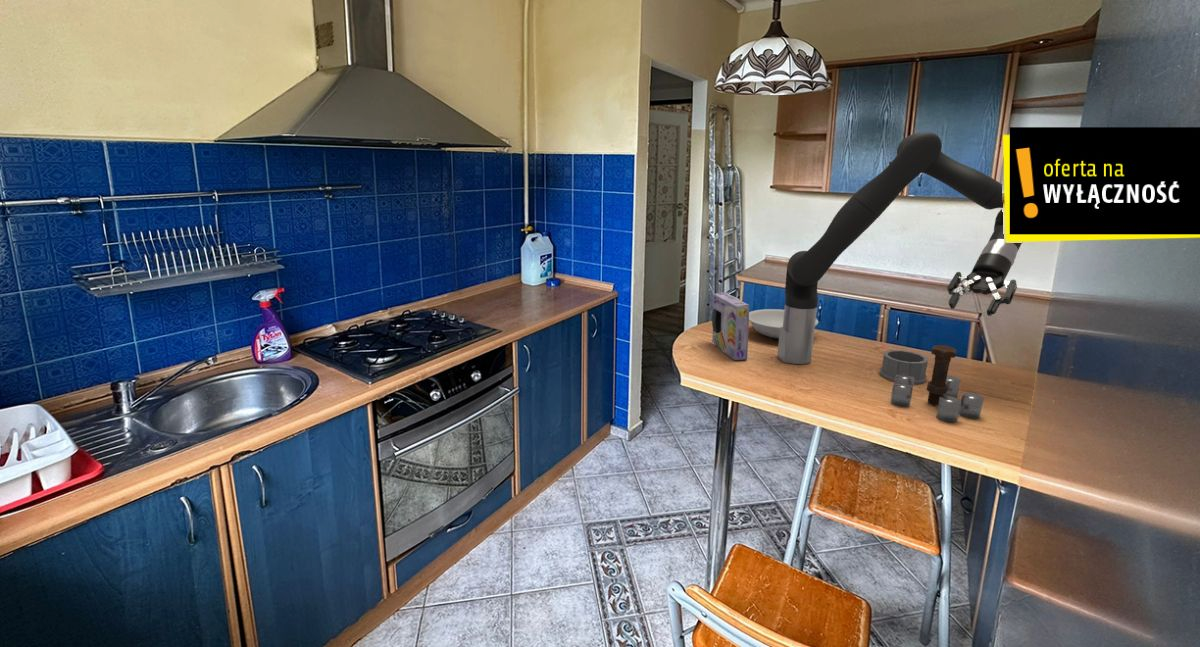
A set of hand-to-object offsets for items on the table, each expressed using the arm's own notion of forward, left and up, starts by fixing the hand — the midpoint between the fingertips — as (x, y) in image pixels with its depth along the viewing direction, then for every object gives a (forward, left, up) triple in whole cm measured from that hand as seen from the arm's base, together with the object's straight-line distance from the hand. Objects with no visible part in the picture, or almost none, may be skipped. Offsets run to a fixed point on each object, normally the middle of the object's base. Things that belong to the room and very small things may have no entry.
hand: (969, 310), depth 145 cm
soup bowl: (-30, +50, -23) cm, 63 cm away
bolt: (-9, -7, -23) cm, 26 cm away
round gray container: (-7, +12, -23) cm, 27 cm away
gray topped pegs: (-10, -8, -23) cm, 26 cm away
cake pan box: (-52, +34, -23) cm, 67 cm away
